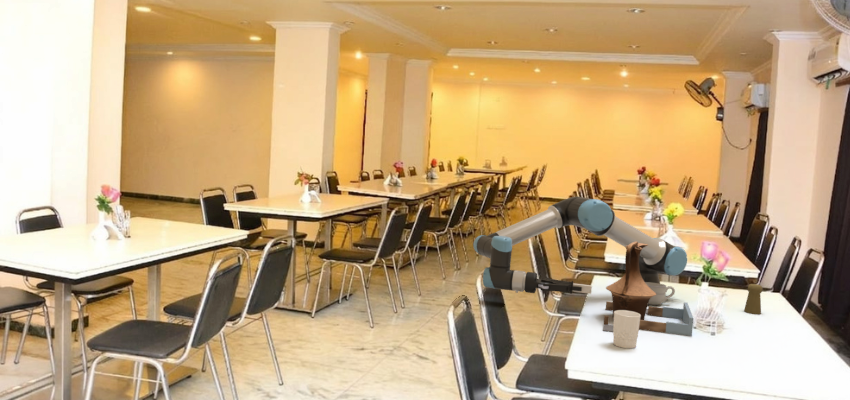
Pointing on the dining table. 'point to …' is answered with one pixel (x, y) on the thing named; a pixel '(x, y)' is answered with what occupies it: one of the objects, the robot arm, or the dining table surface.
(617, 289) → the pitcher
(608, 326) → the mat
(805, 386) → the dining table surface
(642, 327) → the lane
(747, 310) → the cork
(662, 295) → the teacup
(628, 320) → the beige tumbler
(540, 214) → the robot arm
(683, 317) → the pocket
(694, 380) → the dining table surface
